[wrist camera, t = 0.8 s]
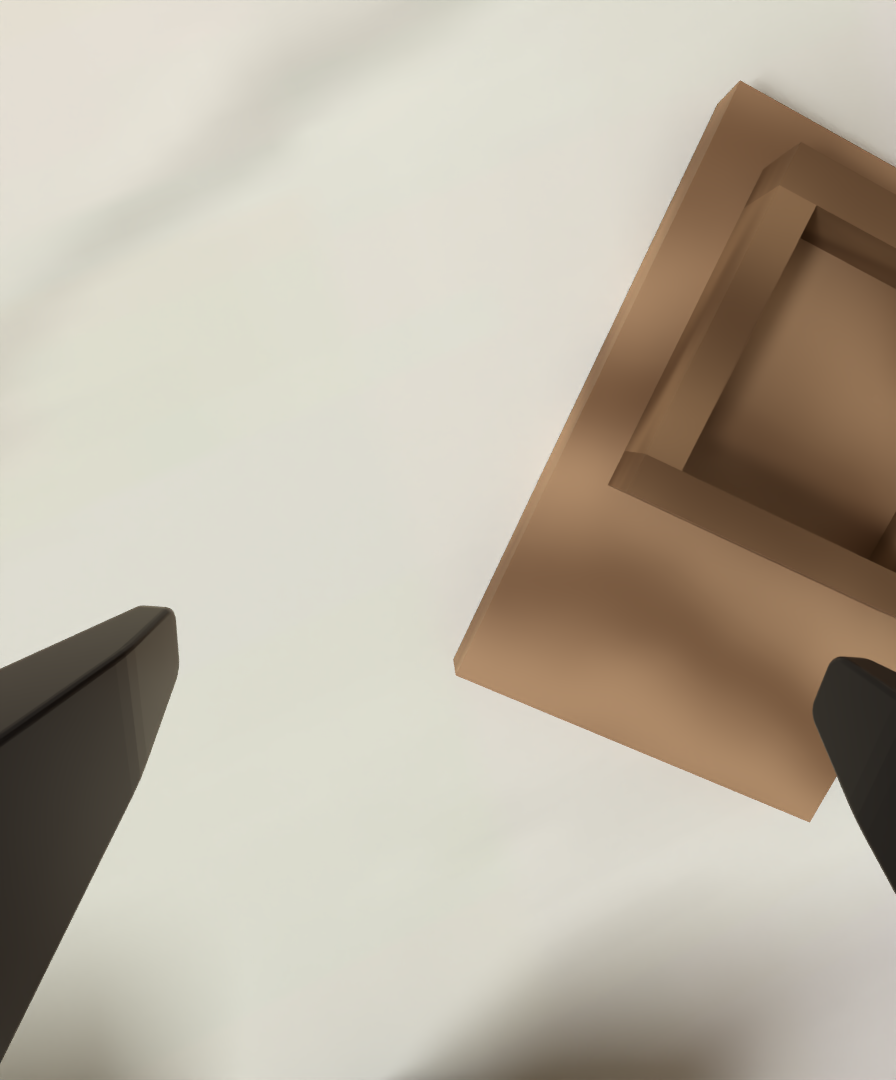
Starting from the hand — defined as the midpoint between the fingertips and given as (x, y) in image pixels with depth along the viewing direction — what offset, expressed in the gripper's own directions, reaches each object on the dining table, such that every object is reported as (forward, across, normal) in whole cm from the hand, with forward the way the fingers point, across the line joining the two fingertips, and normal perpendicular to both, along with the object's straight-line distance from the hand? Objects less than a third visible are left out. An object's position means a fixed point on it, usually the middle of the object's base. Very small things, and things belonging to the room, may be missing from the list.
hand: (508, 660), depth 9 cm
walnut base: (+14, -10, +2) cm, 18 cm away
